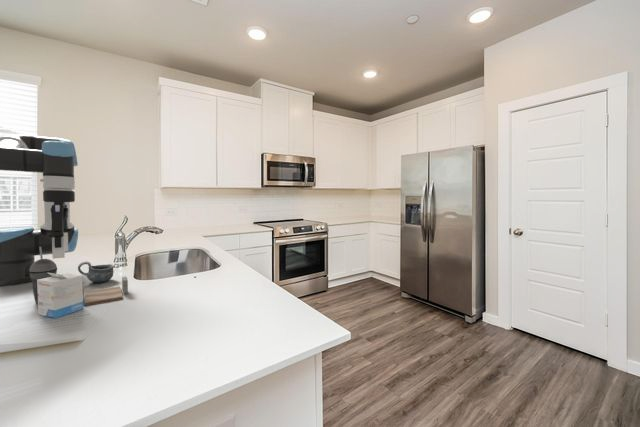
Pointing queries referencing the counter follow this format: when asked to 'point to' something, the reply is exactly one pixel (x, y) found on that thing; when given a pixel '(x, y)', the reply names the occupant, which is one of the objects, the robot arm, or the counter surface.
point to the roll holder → (106, 294)
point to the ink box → (59, 295)
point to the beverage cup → (41, 272)
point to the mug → (98, 272)
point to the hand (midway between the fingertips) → (60, 254)
